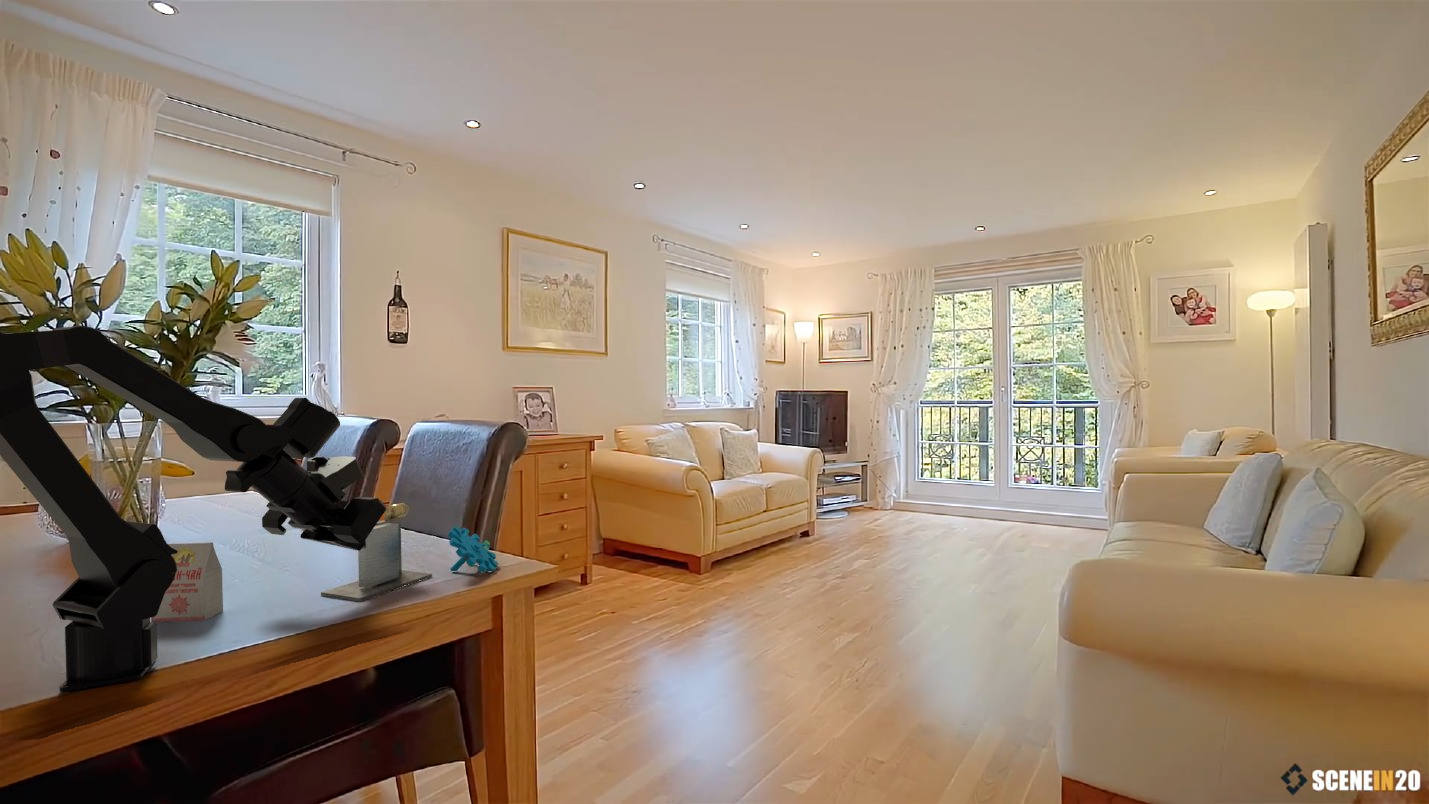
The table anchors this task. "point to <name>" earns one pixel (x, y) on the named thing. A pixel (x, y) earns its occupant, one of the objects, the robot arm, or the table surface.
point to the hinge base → (405, 578)
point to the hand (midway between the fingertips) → (360, 547)
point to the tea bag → (193, 584)
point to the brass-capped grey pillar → (379, 556)
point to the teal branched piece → (471, 550)
